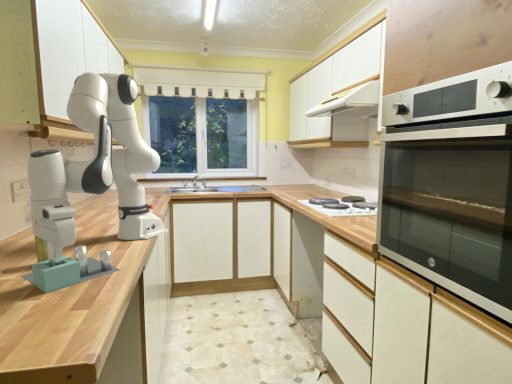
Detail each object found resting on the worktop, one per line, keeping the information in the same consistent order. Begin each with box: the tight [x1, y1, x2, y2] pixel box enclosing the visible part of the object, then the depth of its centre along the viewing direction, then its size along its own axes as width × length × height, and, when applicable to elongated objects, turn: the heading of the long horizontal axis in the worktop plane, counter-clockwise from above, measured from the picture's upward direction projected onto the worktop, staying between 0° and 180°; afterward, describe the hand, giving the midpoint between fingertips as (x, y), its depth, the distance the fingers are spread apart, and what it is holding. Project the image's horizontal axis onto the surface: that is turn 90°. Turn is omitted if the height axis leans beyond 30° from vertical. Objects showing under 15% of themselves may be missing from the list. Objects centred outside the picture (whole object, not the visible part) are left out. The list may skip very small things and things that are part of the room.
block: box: [31, 255, 81, 294], centre depth 92 cm, size 9×9×6 cm
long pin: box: [47, 242, 62, 267], centre depth 92 cm, size 3×3×14 cm
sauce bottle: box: [34, 236, 49, 263], centre depth 108 cm, size 7×6×20 cm
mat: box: [21, 257, 121, 294], centre depth 101 cm, size 21×20×1 cm
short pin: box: [99, 249, 113, 271], centre depth 103 cm, size 3×3×6 cm
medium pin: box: [73, 244, 88, 278], centre depth 98 cm, size 3×3×9 cm
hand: (55, 256), depth 92 cm, fingers closed on long pin, 3 cm apart
